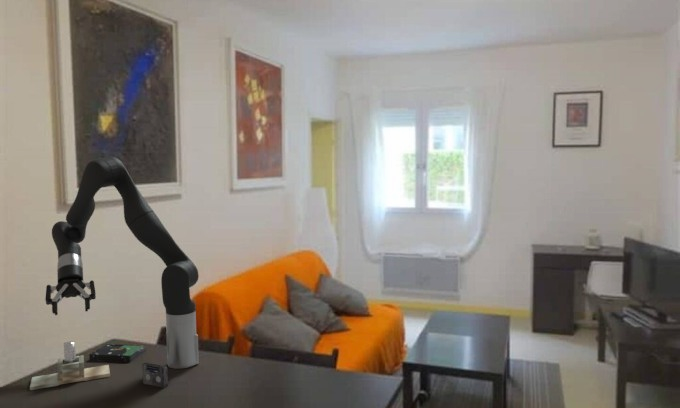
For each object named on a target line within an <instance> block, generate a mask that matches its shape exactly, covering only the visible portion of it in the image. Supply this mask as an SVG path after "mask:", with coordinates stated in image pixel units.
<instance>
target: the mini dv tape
mask: <svg viewBox="0 0 680 408" xmlns="http://www.w3.org/2000/svg"><path fill="white" fill-rule="evenodd" d="M141 366H142V384H144V385H149V386H154V387H158V388H162V389H165V388H166V387H168V386H169V383H168V382H169V380H168V379H169V377H168V375H169V374H168V373H169V372H168V366H165V365H161V364H154V363H150V362H142V365H141Z"/></svg>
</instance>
